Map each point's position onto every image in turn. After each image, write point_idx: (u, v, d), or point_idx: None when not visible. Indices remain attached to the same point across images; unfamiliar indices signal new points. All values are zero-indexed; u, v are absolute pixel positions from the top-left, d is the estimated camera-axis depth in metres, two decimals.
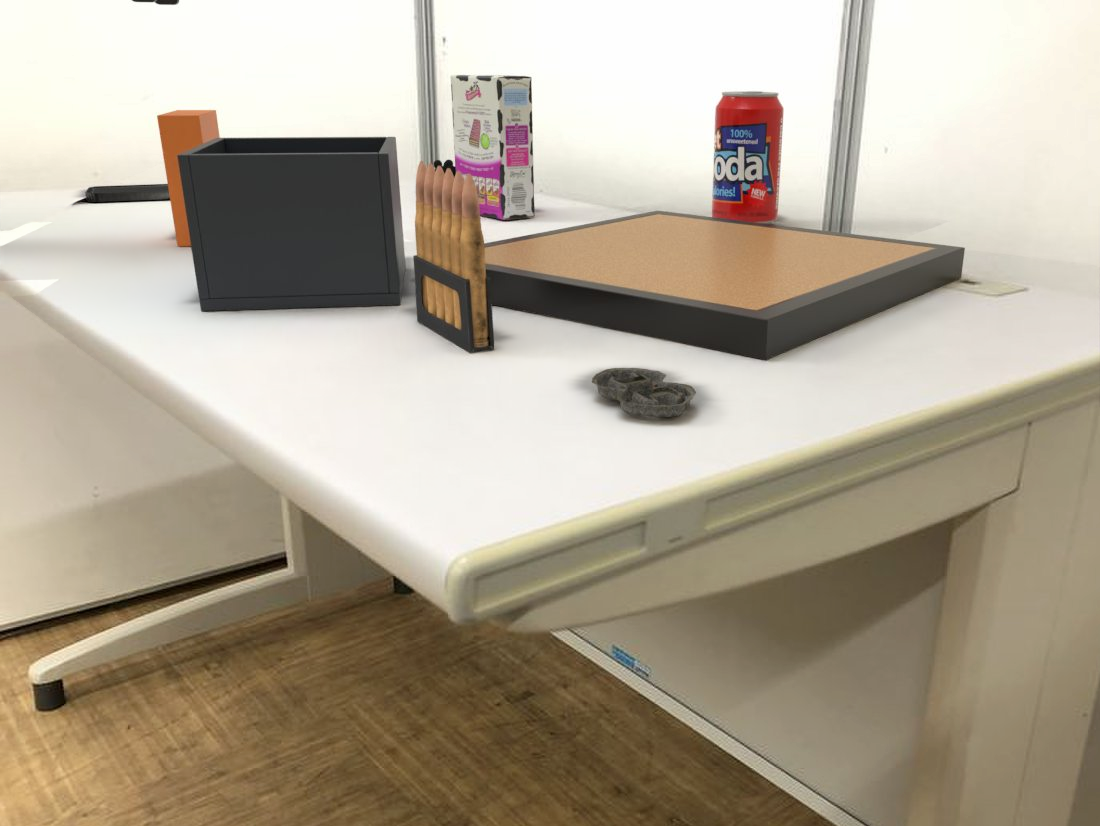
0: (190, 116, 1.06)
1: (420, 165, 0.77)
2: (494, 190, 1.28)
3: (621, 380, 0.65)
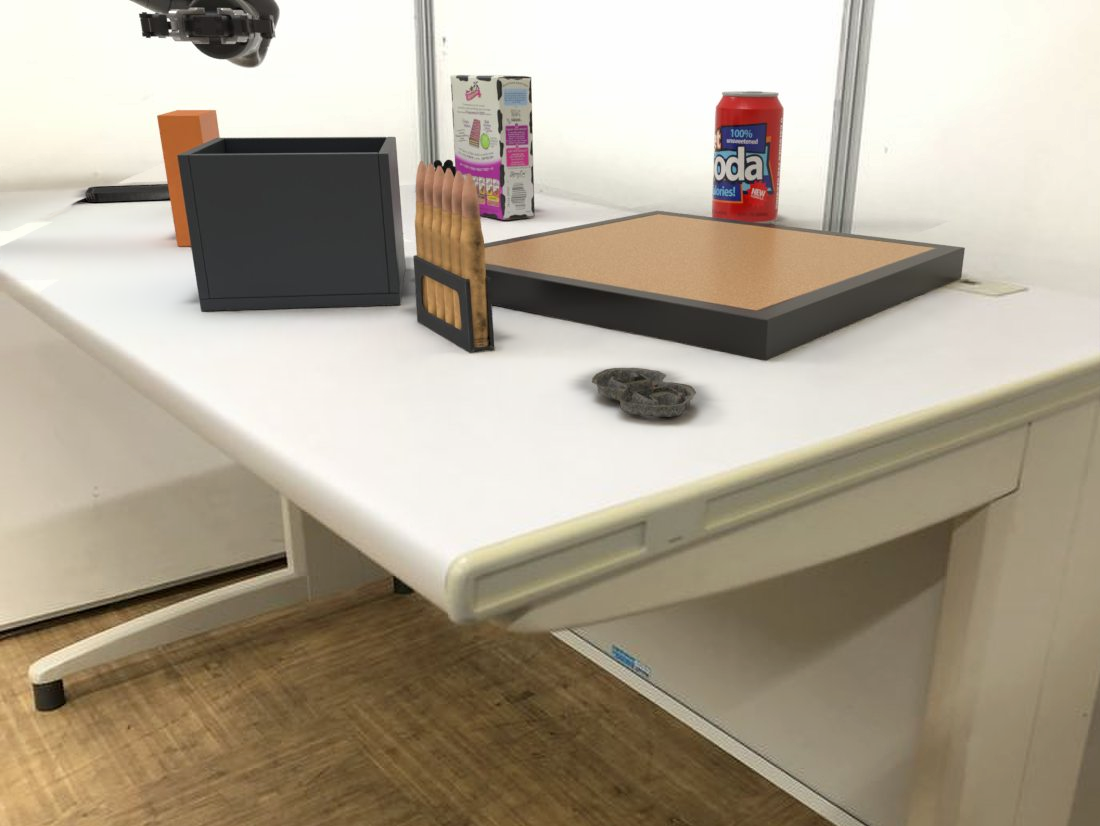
0: (190, 116, 1.06)
1: (420, 165, 0.77)
2: (494, 190, 1.28)
3: (621, 380, 0.65)
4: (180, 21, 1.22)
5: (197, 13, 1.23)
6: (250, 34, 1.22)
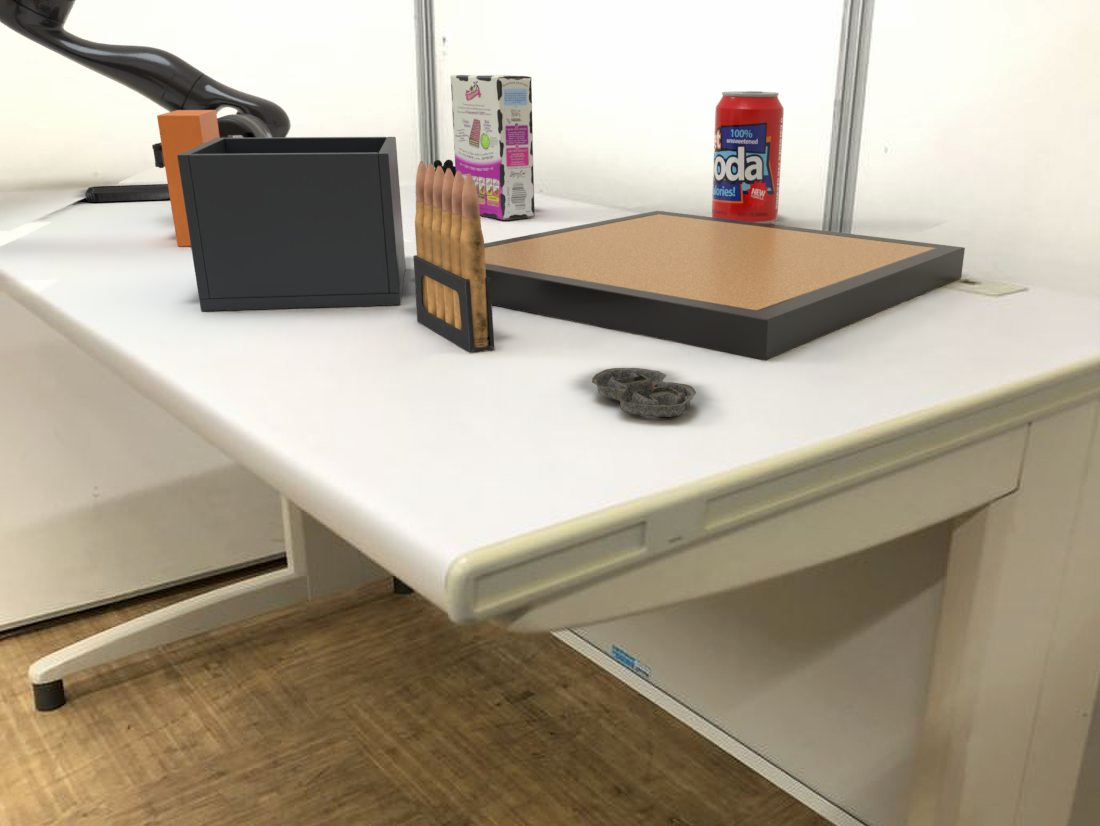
0: (190, 116, 1.06)
1: (420, 165, 0.77)
2: (494, 190, 1.28)
3: (621, 380, 0.65)
4: None
5: None
6: None
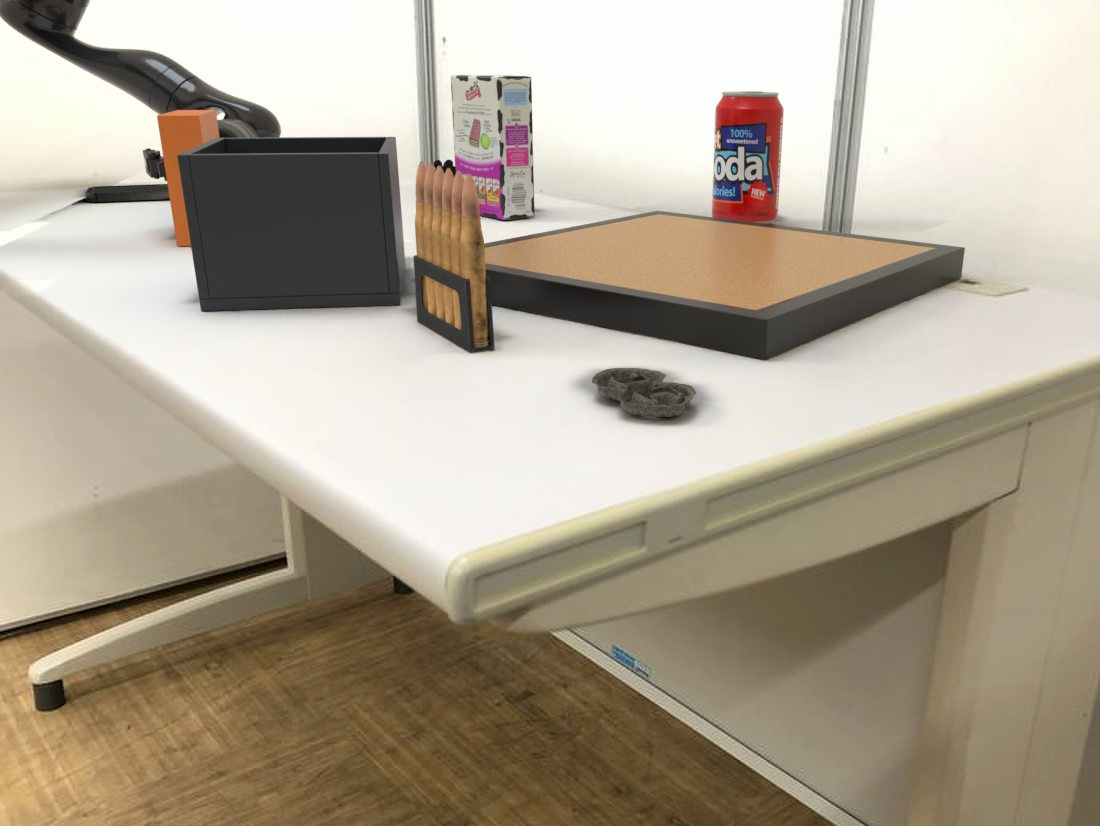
0: (190, 116, 1.06)
1: (420, 165, 0.77)
2: (494, 190, 1.28)
3: (621, 380, 0.65)
4: None
5: None
6: None
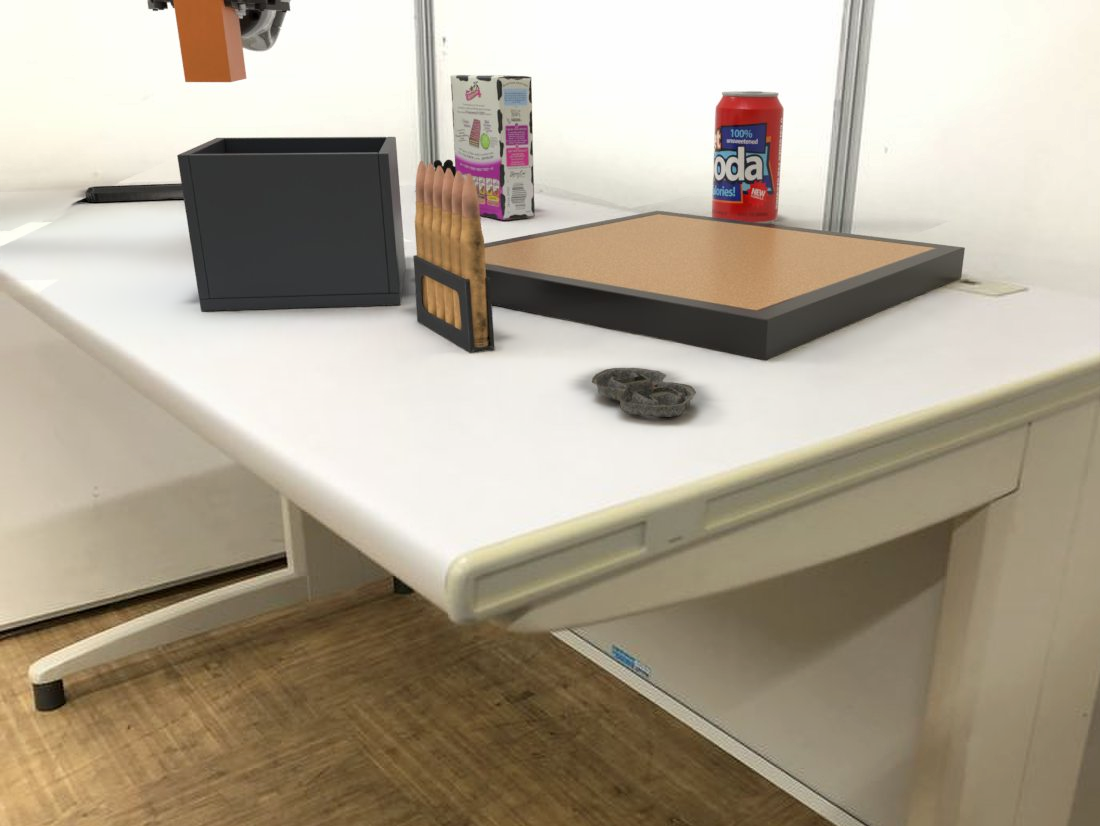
0: None
1: (420, 165, 0.77)
2: (494, 190, 1.28)
3: (621, 380, 0.65)
4: None
5: None
6: (238, 5, 1.00)
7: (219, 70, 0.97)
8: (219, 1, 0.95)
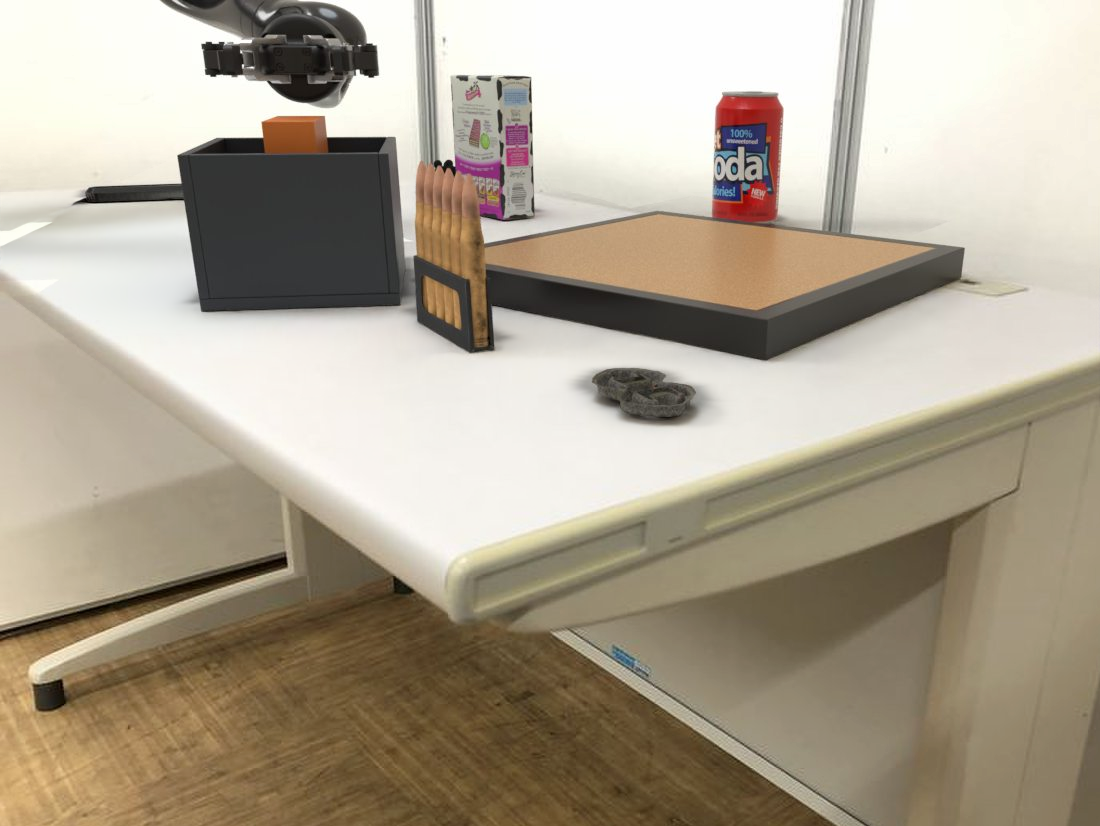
0: (303, 122, 0.84)
1: (420, 165, 0.77)
2: (494, 190, 1.28)
3: (621, 380, 0.65)
4: (256, 54, 0.89)
5: (277, 42, 0.90)
6: (349, 72, 0.88)
7: None
8: None
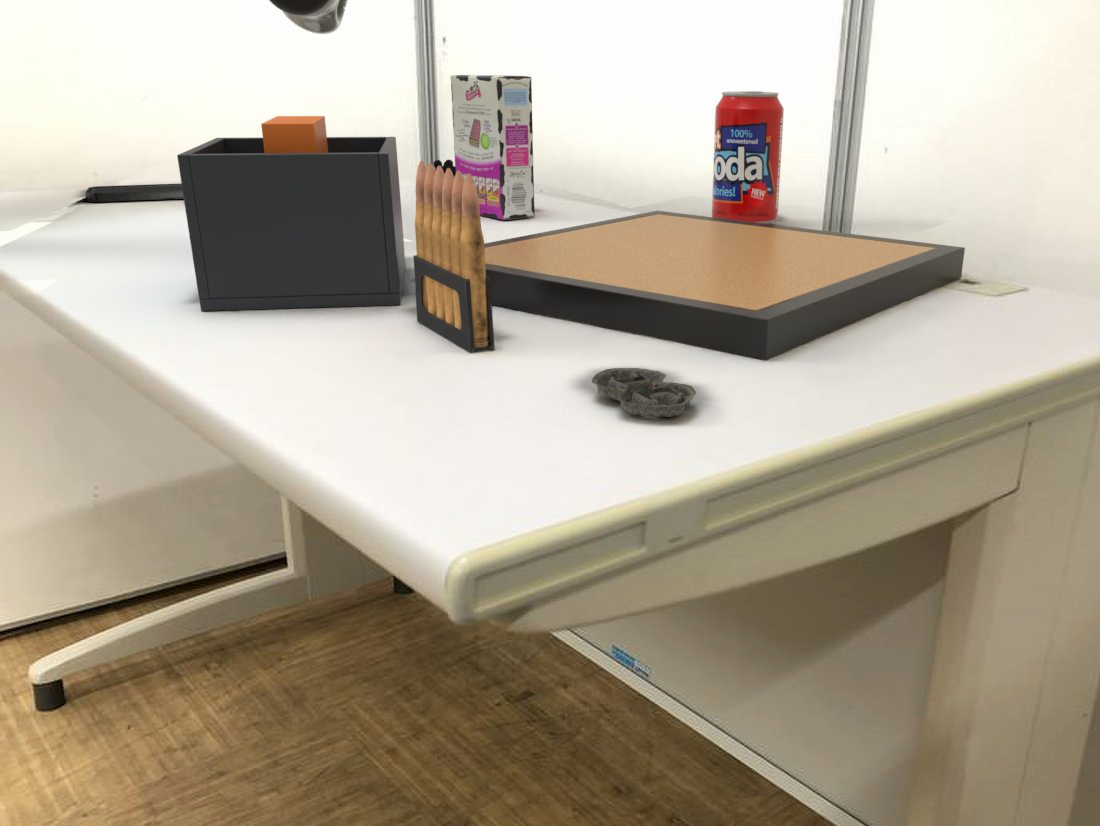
0: (303, 124, 0.84)
1: (420, 165, 0.77)
2: (494, 190, 1.28)
3: (621, 380, 0.65)
4: None
5: None
6: None
7: None
8: None
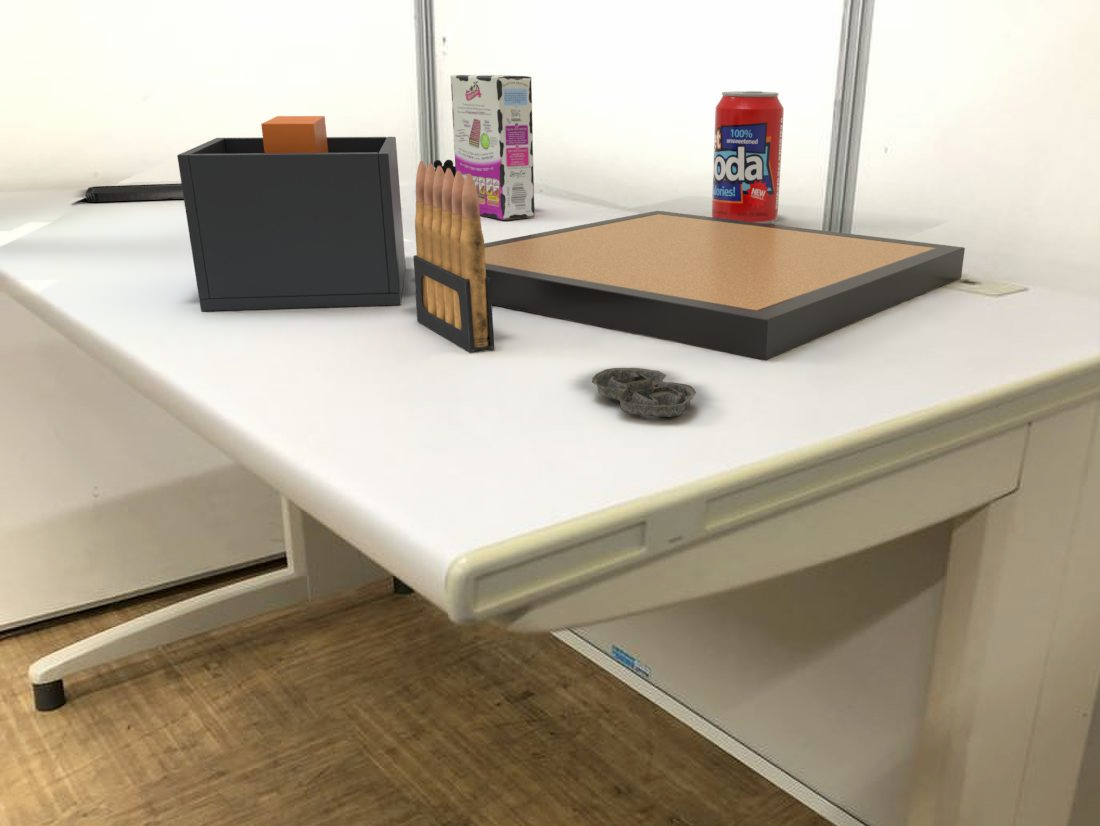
0: (303, 124, 0.84)
1: (420, 165, 0.77)
2: (494, 190, 1.28)
3: (621, 380, 0.65)
4: None
5: None
6: None
7: None
8: None
